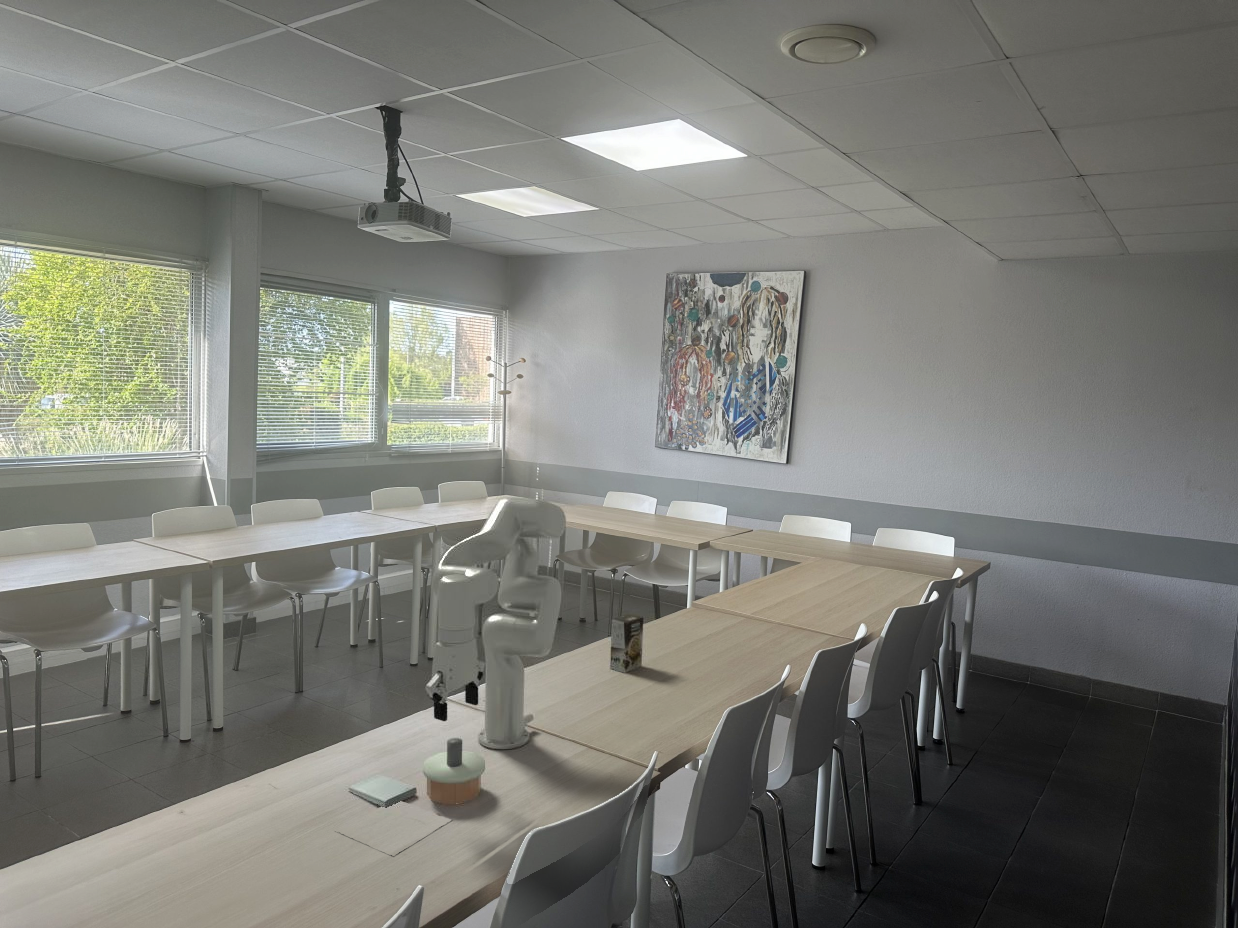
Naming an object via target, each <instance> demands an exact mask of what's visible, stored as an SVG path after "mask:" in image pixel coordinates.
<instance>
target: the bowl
mask: <svg viewBox="0 0 1238 928" xmlns="http://www.w3.org/2000/svg"><path fill="white" fill-rule="evenodd" d="M481 790H482V774H481V775H480V776H479V777H477V778H475V779H473V780H470V781H466V782H461V783H440V782H435V781H432V780H430V779H428V778H427V777H426V795H427V797H428V796H429V797H428V799H429V800H430V799H431V800H430V801H432V800H434V801H433V802H435V801H437V802H440V803H447V804H446V805H457V804H456V803H460V804H462V803H461V802H464V803H468V802H467V801H469V802H470V800H471V801H472V800H474V799H476V798H477V797H478V796H479V794H480V792H481ZM475 797H476V798H475ZM473 798H474V799H473ZM465 801H466V802H465ZM437 802H436V803H437ZM440 803H439V804H440Z"/></svg>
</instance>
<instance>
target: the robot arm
mask: <svg viewBox="0 0 1238 928" xmlns="http://www.w3.org/2000/svg"><path fill="white" fill-rule="evenodd" d="M566 524H567V518H566V514H565V511H564V510H563V509H562V507H561V506H559V505H556V504H554V503H552V502H550V501H547V500H544V499H540V498H539V499H537V498H523V497H506V498H502V499H500V500H499V501H497V503H496V504H495V505H494V507H493V508H492V510H491V512H490V513H489V515H488V516H487V518H486V520H485V522H484V524H483V525H482V527H481V528H480V531H479V532H478V533H476V534H474V535H471V536H469V537H468V538H465V539H464V540H462V541H460V542H458V543H456V544H455V545H453V546H452V547H450V548H449V549H448V550H447V551H446V552H445V554H444V555H443V557H442V558H441V559H440V561H439V563H438V565H437V566H436V568H435V570H434V573H433V575H432V580H431V588H432V591H433V593H434V595H435V596H436V597H437V599H438V600H437V601H438V604H437V608H438V610H437V611H438V612H437V613H438V615H437V616H438V617H437V618H438V619H437V620H438V621H437V623H438V624H437V625H438V628H437V630H438V631H437V632H438V633H437V635H438V637H437V639H438V642H436V643H435V645H434V646H435V647H434V651H433V657H432V667H431V680H429V682H428V683H427V684H426V685H425V691H426V693H427V694H428V695H427V696H428V698H430V699H431V701H432V702H433V718H434V719H436V720H439V721H440V722H441V721H442V722H446V721H448V702H446V700H447V698H448V696H449V694H450V692H453V691H455V690H458V689H459V688H462V687H464V686H465V691H464V692H465V694H464V695H465V696H464V697H465V698H464V699H465V703H467V704H468V705H469V704H470V705H472V706H478V705H479V687H480V686H481V680H482V678H483V676H484V670H485V685H484V686H485V687H484V689H485V692H484V696H485V697H484V698H485V699H484V729H481V731H480V732H479V733H478V736H477V740H478V742H479V744H481V746H484V747H486V748H489V749H493V750H511V749H516V748H520V747H521V746H523V745H525V744H527V743H528V742H529V741H530V733H529V731H528V730H527V729H526V726H527V724H528V723H531V722H533V720H534V715H533V714H532V713H528V714H526V715H524V712H525V711H524V709H525V707H524V705H525V668H524V664H523V662H522V659H520V656H524V657H534V658H535V657H537V658H540V657H541V658H542V657H545V656H547V655H548V654H549V653H550V651H551V650H552V647H553V643H554V640H555V639H554V638H555V632H556V628H557V623H558V619H559V614H560V610H561V603H562V588H561V583H560V582H559V580H558V579H557V578H555V577H554V576H549V575H541V574H540V575H539V574H538V570H539V566H540V565H539V564H540V556H539V554H538V551H537V550H536V548H535V547H534V545H533V544H532V543H531V541H530V540H529V538H532V539H543V540H557V539H559V538H560V537H561V536H562V535H563V534H564V532H565V530H566V527H567V525H566ZM503 558H505V562H504V567H503V571H502V575H501V580H499V577H498V575H497V573H496V572H495V571H494V570H492V569H489V568H487V567H475V566H478V565H483V564H488V563H492V562H496V561H498V560H502V559H503ZM499 581H500V582H499ZM497 592H498V593H497ZM496 594H497V603H498V605H499V606H500V607H501V608H502V609H503V610H506V611H512V612H519V613H529V614H536V616H531V615H530V616H529V615H523V614H511V613H495V614H493V615H490V616H488V618H486V620H485V621H484V623H483V626H482V635H481V636H482V643H483V649H484V659H485V662H484V661H481V660H479V654H478V653H479V651H478V644H477V639H476V636H475V634H476V633H475V631H476V630H475V628H476V624H475V623H476V622H475V620H476V619H475V615H476V614H475V610H476V609H475V608H476V607H475V606H477V605H482V604H484V603H487V602H489V601H491V600H492V599H493V598H494V597H495V596H496ZM441 692H442V695H440V694H441Z"/></svg>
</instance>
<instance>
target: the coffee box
mask: <svg viewBox="0 0 1238 928" xmlns="http://www.w3.org/2000/svg"><path fill="white" fill-rule="evenodd" d="M610 633H611V634H610V635H611V639H610V657H609V658H610V660H609V668H610V669H611V670H614V671H618V672H620V673H628V672H631V671H632V670H635V669H638V668H640V667H642V666H643V665H642V663H643V642H644V641H643V637H644V636H643V635H644V617H643V616H639V615H635V614H634V615H633V614H629V613H628V614H625V615H621V616H619V617H615V618H612V619H611V632H610Z"/></svg>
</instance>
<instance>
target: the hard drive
mask: <svg viewBox="0 0 1238 928" xmlns="http://www.w3.org/2000/svg"><path fill="white" fill-rule="evenodd" d="M347 790H350V791H352V792H354V793H356V794H358V795H360V796H362V797H364V798H366V799H368V800H370V801H372V802H371V803H373V804H375V805H377V804H378V806H379V807H380V806H382V807H385V808H387V807H389V806H392V805H393V804H396V803H398V802H400V801H402V800H403V801H405V800H406V799H407V800H408V798H411V797H413V796H415V795H417V794H418V792H417V790H418V789H417V787H415V786H413V785H411V784H407V783H405V782H402V781H400V780H397V779H394V778H391V777H388V776H386V775H383V774H376V775H373V776H371V777H368V778H366V779H363V780H361V781H359V782H357V783H354V784H352V785H350V786H349V787H348V789H347ZM350 791H349V792H350ZM368 800H367V801H368ZM370 801H369V802H370Z"/></svg>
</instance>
